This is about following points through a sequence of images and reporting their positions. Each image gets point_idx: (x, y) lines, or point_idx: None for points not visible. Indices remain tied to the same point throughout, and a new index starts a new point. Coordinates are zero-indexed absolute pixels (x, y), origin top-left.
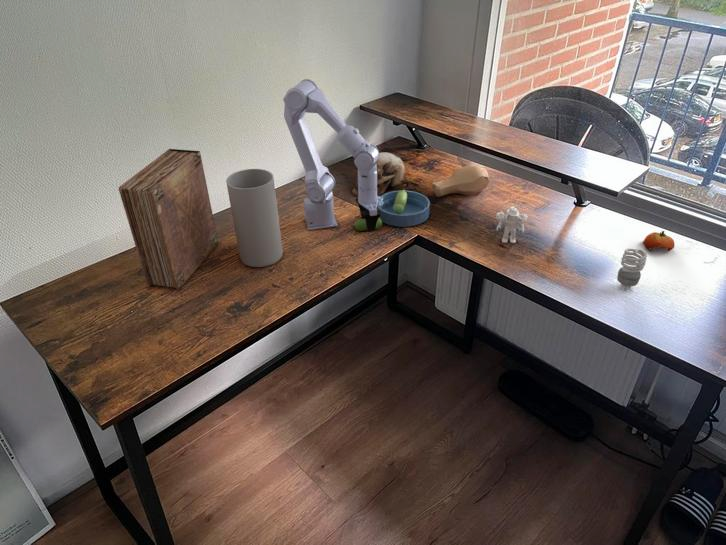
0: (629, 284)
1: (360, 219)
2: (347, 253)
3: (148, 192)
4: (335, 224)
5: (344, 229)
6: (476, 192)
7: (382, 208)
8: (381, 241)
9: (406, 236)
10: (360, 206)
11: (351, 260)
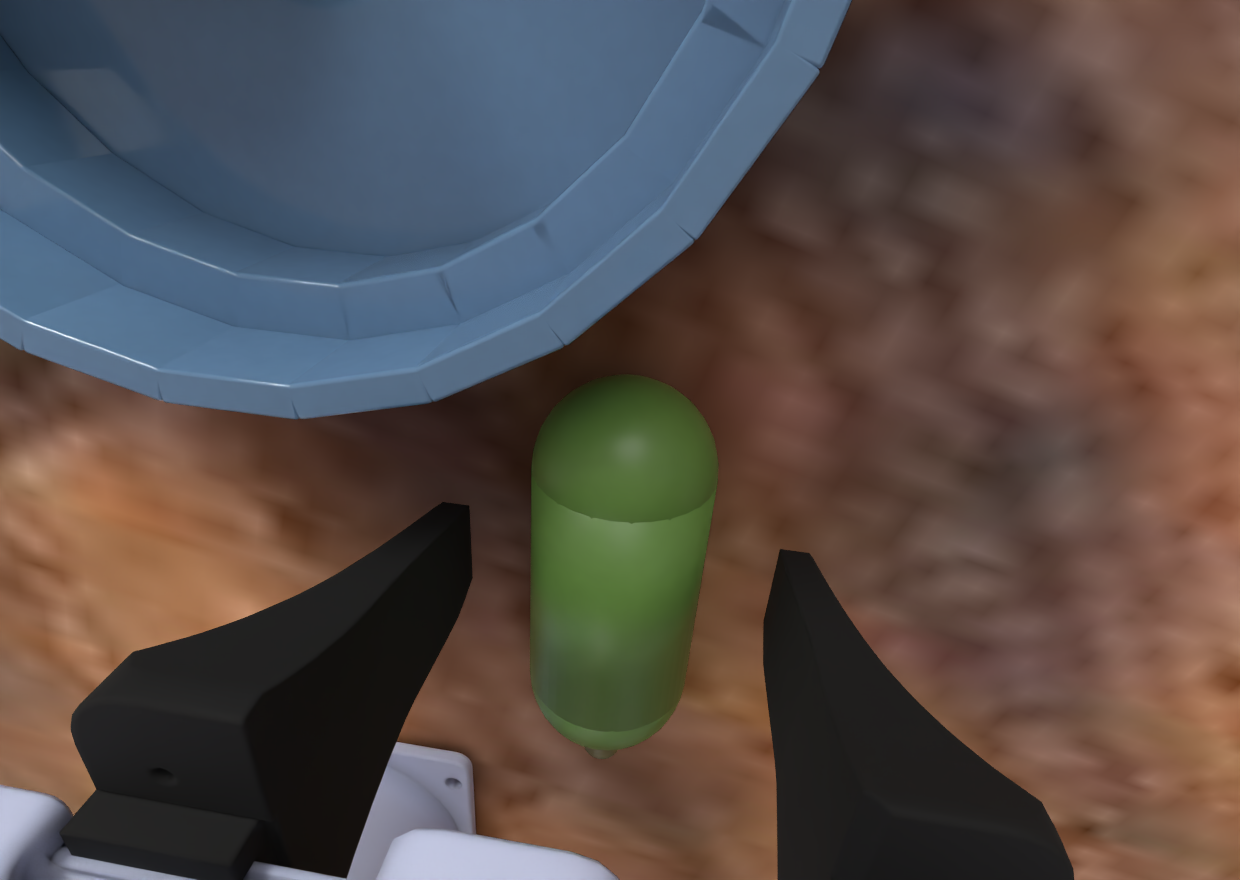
0: None
1: (565, 708)
2: None
3: None
4: (449, 776)
5: (544, 721)
6: None
7: (110, 168)
8: (1016, 498)
9: (1146, 54)
10: (366, 794)
11: (1169, 863)
